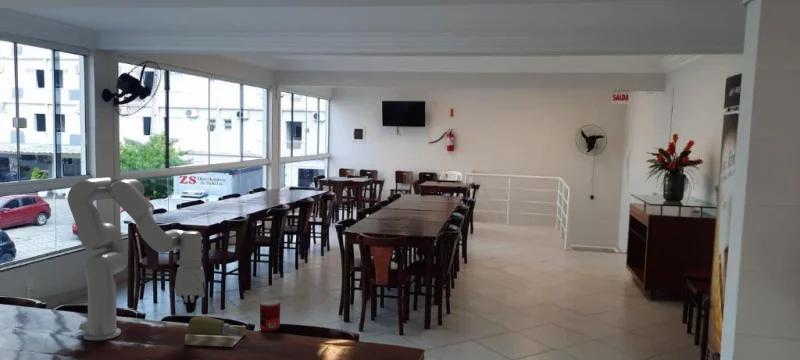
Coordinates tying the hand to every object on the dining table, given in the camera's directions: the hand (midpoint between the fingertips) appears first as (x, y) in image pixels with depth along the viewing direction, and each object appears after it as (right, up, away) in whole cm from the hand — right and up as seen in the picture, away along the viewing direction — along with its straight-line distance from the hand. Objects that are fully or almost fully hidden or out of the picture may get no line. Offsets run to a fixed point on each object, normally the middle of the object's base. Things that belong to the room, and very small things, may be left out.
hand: (190, 312), depth 206 cm
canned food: (+27, -10, +14) cm, 32 cm away
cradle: (+10, -10, 0) cm, 14 cm away
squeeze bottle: (0, -5, +1) cm, 5 cm away
